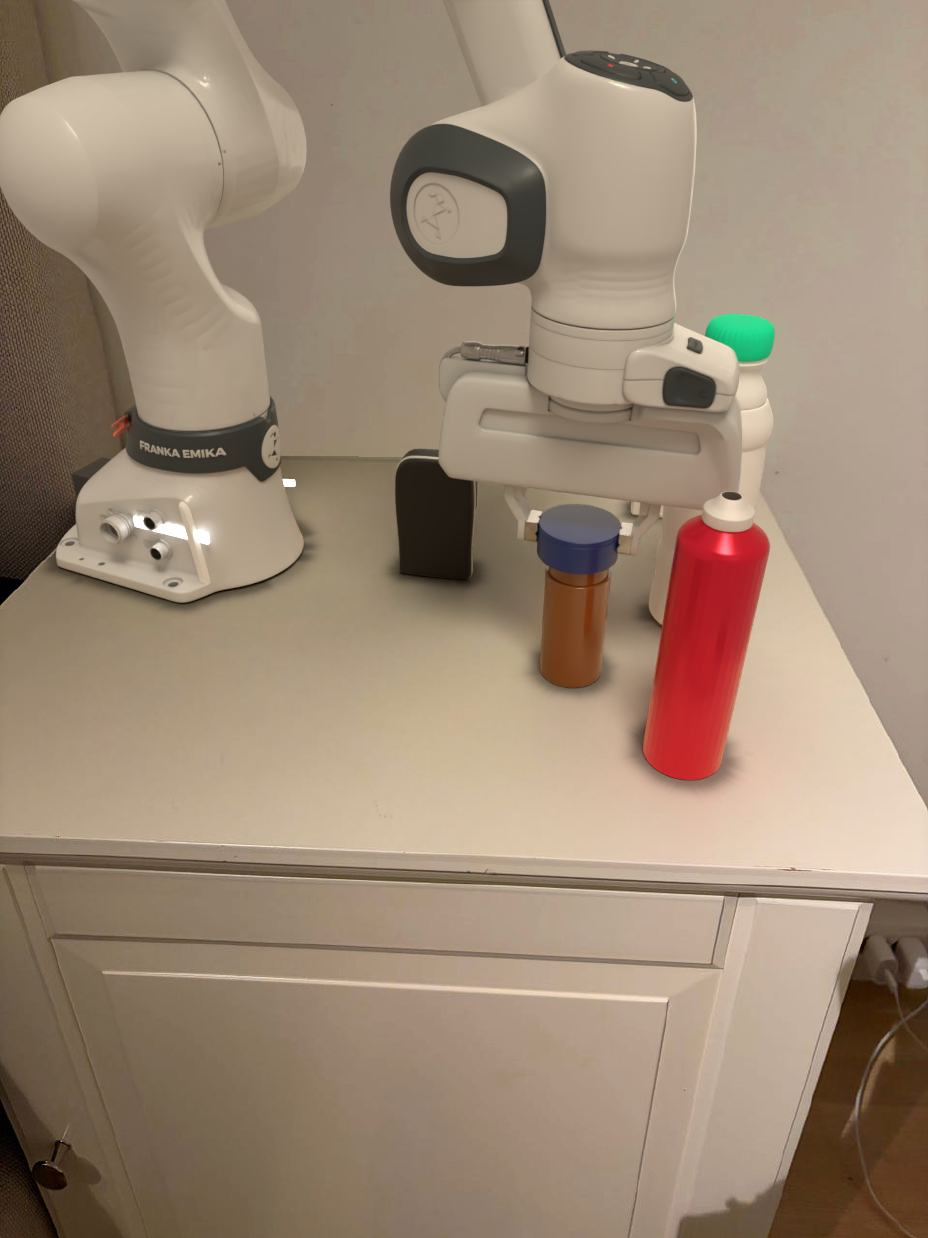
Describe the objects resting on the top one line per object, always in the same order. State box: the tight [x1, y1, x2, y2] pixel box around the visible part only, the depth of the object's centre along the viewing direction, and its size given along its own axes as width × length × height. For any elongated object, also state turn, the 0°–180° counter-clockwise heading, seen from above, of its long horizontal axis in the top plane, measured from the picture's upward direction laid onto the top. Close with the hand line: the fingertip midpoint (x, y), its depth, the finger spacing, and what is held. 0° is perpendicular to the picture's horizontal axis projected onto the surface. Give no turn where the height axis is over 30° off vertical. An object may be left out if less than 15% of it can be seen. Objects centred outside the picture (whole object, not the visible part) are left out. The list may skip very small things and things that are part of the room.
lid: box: [536, 503, 622, 575], centre depth 66 cm, size 6×6×2 cm
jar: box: [539, 565, 613, 689], centre depth 70 cm, size 5×5×11 cm
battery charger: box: [394, 448, 478, 580], centre depth 82 cm, size 7×4×11 cm, turn 80°
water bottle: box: [648, 313, 776, 626], centre depth 72 cm, size 7×7×25 cm
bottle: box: [642, 491, 771, 781], centre depth 59 cm, size 5×5×20 cm
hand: (578, 544), depth 67 cm, fingers closed on lid, 6 cm apart
